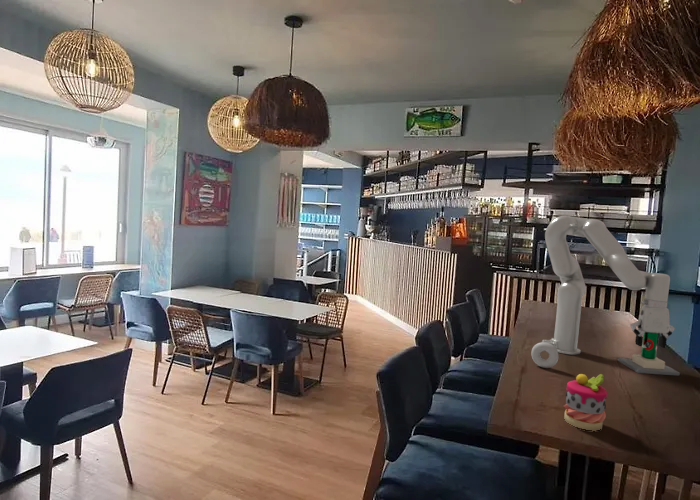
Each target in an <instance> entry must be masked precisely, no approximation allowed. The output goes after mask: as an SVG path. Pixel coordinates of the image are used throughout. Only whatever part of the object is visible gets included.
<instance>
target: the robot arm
mask: <svg viewBox="0 0 700 500" xmlns="http://www.w3.org/2000/svg"><path fill="white" fill-rule="evenodd" d="M567 235H568V236H575V237H581V238H586V240H587V241H588V242H589V243H590V245H592V246H593V248H594V249H595V250H596V251H597V253H598V254H599V255H600V256H601V258H602V259H603V260H604V261H605V264H607V265H608V266H609V268H610V270H612V272H613V273H614V274H615V275H616V276H617V278H618V279H619V280H620V281H621V283H622V284H623V285H624V286H625V287H626V288H627V289H629V290H630V291H631V290H632V291H640V290H642V289H645V296H644V300H641V304H642V306H641V309H640V311H639V315H638V320H637V321H635V322H633V323H630V329H632V332H633V333H634V335H635V345H637V346H638V347H642V342H643V334H644V333H645V332H648V333H659V336H658V346H659V347H661V348H663V349H665V348H666V345H667V340H668V339H669V337H670V336H671V335H673V332H674V331H675V330H676V328H675V327H674V326H673V325H672V324H671V323H670V310H669V308H667V307H668V300H669V292H670V291H669V290H670V283H671V277H670V275H669V274H666V273H661V272H659V273H658V272H648V271H643V270H640V269H638V268H637V266H636V265H635V264H634V263H633V262H632V261H631V259H630V258H629V257H628V255H627V253H626V251H625V249H624V247H623V246H622V244H621V243H620V242H619V241H618V239H616V238H615V236H614V235H613V234H612V232H610V230H608V228H607V226H606V224H605V223H604V222H603V221H602V220H599V219H590V218H584V217H579V216H578V217H577V216H569V215H560V216H557V217H555V218H554V219H553V220H552V221H551V222H550V223H549V224H548V226H547V227H546V230H545V232H544V238H545V244H546V248H547V251H548V256H549V260H550V263H551V267H552V271H553V272H554V274H555V275H556V276H557V277H558V278H559V281H560V282H561V284H560V285H559V286H558V290H557V296H556V297H557V303H556V313H555V314H556V317H555V324H554V325H555V326H554V332H553V333H554V334H553V337H551V339H542V341H541V342H547V343H549V344H551V345H553V346H554V347H555V348H556V350H557V352H558V354H559V353H560V354H563V355H572V356H575V355H580V354H581V349H580V348H578V341H579V332H580V331H579V330H580V321H581V315H582V314H581V311H582V302H583V301H582V298H583V297H584V295H585V294H586V291H587V288H586V287H587V286H586V284H585V283H586V282H585V280H584V279H585V278H584V277H583V273H582V269H581V267H580V266H581V265H580V264H579V262H578V260H577V258H575V257H574V256H572V253H571V252H570V247H569V243H568V241H567Z"/></svg>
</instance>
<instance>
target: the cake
mask: <svg viewBox="0 0 700 500" xmlns="http://www.w3.org/2000/svg"><path fill="white" fill-rule="evenodd" d="M604 377H605V376H604V374H602V373H600V374H598V375H597V376H592V377H591V378H588V376H587V375H586V374H583V373H579V374H578V375H576V376H575V379H574V380H570V381H568V382H567V384H566V389H565V390H566V392H565V397H566V398H565V404H564V405H563V407H564V408H565V411H564V416H563V420H564V419H565V420H564V422H565V421H566V422H567V423H569V424H571V425H573V426H575V427H578V428H582V429H586V430H592V431H591V432H593V431H595V432H597V431H596V430H600V429H601V430H602V429H603V426H604V425H603V424H604V421H605V419H606V417H607V414H606V411H605V410H606V409H607V405H606V399H608V398H607V396H608V391H607V389H605V387H603V386H601V385H602V384H603V383H604V379H605V378H604ZM566 422H565V423H566ZM567 423H566V424H567ZM569 424H568V425H569ZM571 425H570V426H571ZM573 426H572V427H573ZM575 427H574V428H575ZM601 430H600V431H601Z"/></svg>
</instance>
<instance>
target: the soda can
mask: <svg viewBox="0 0 700 500" xmlns="http://www.w3.org/2000/svg"><path fill="white" fill-rule="evenodd" d="M642 337H643V342H642V346H641V352H640V355H641V356H642V357H644V358H646V359H655V358H656V357H657V352H658V351H657V350H658V345H659V337H660V333H648V332H645V333H644V334H643V335H642Z"/></svg>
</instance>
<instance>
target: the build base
mask: <svg viewBox="0 0 700 500" xmlns="http://www.w3.org/2000/svg"><path fill="white" fill-rule="evenodd" d="M617 361H618V362H619V363H620V364H622V365H624V366H626V367H628V368H629V369H631V370H633V371H634V372H636V373H637V374H651V375H667V376H680V374H681V373H680V372H679V371H677V370H676V369H674V368H672V367H670V366H668V365H666V361H664V360H662V359H660V358H658V357H657V356H656V358H655V359H646V358H644V357H642V356H641V353H639V354H638V353H633V354H632V358H623V357H618V358H617Z"/></svg>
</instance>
